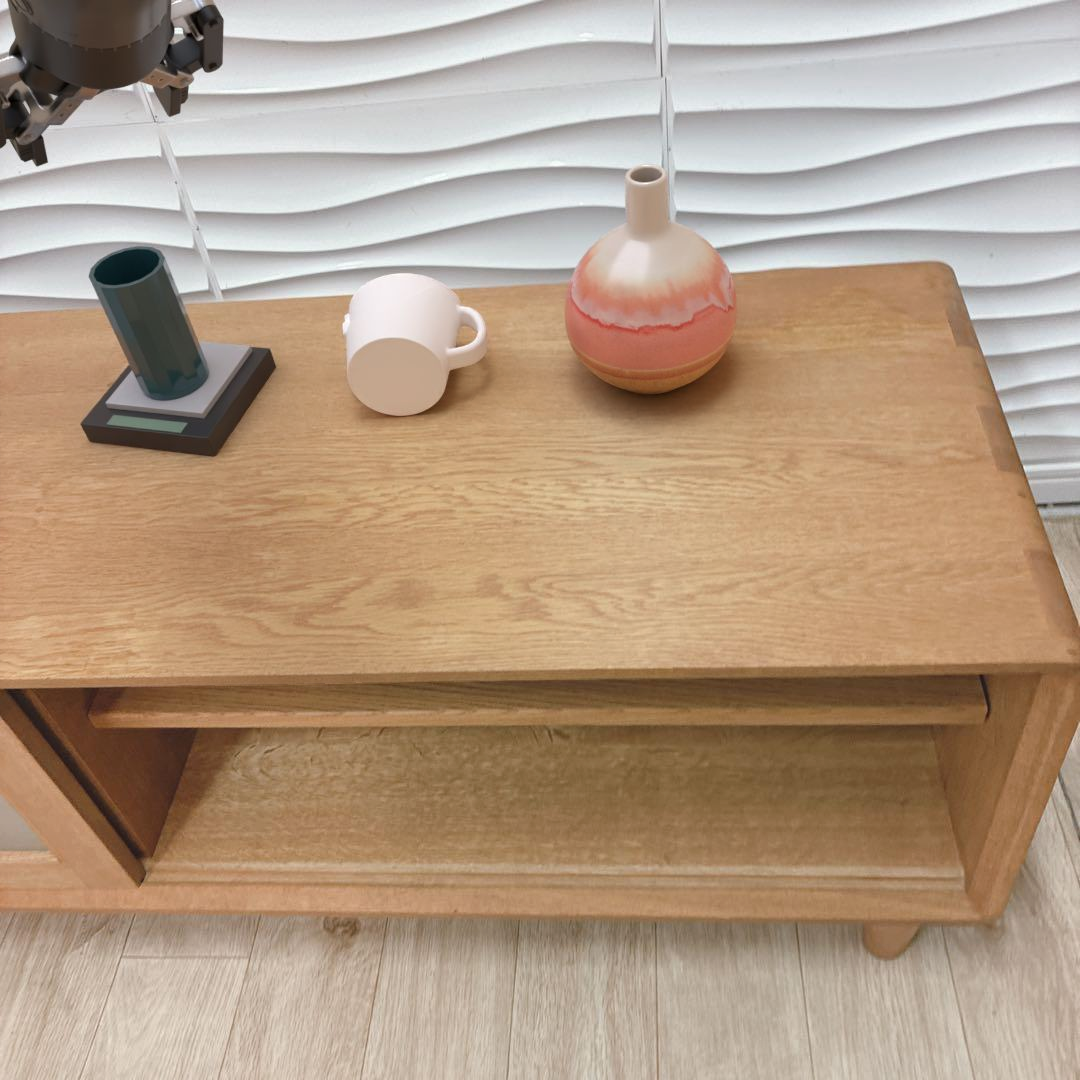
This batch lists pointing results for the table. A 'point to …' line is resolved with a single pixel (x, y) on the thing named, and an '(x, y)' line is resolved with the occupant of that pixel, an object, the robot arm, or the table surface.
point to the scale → (183, 405)
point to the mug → (407, 342)
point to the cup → (150, 322)
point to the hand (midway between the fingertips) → (100, 126)
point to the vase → (650, 296)
